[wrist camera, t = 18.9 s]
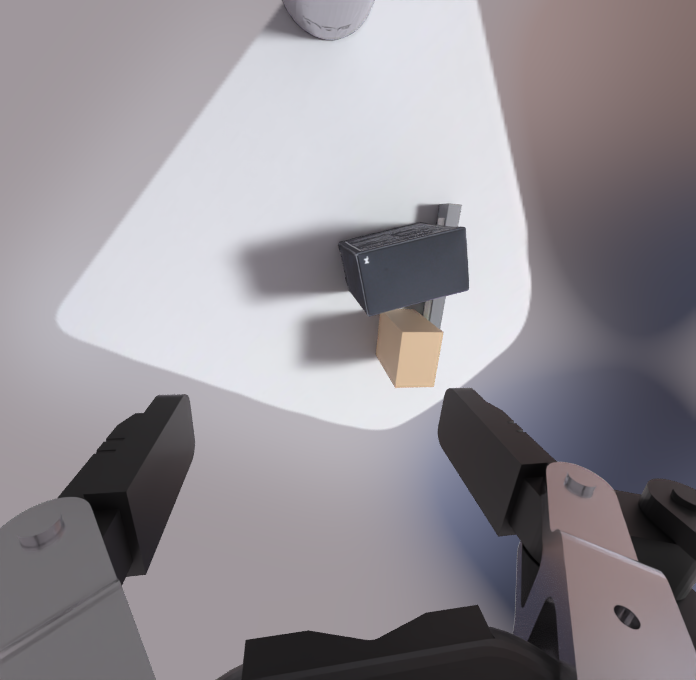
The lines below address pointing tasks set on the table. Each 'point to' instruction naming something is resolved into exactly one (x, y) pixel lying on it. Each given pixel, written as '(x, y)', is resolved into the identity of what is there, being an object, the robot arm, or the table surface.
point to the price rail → (435, 307)
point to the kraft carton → (408, 348)
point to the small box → (405, 266)
